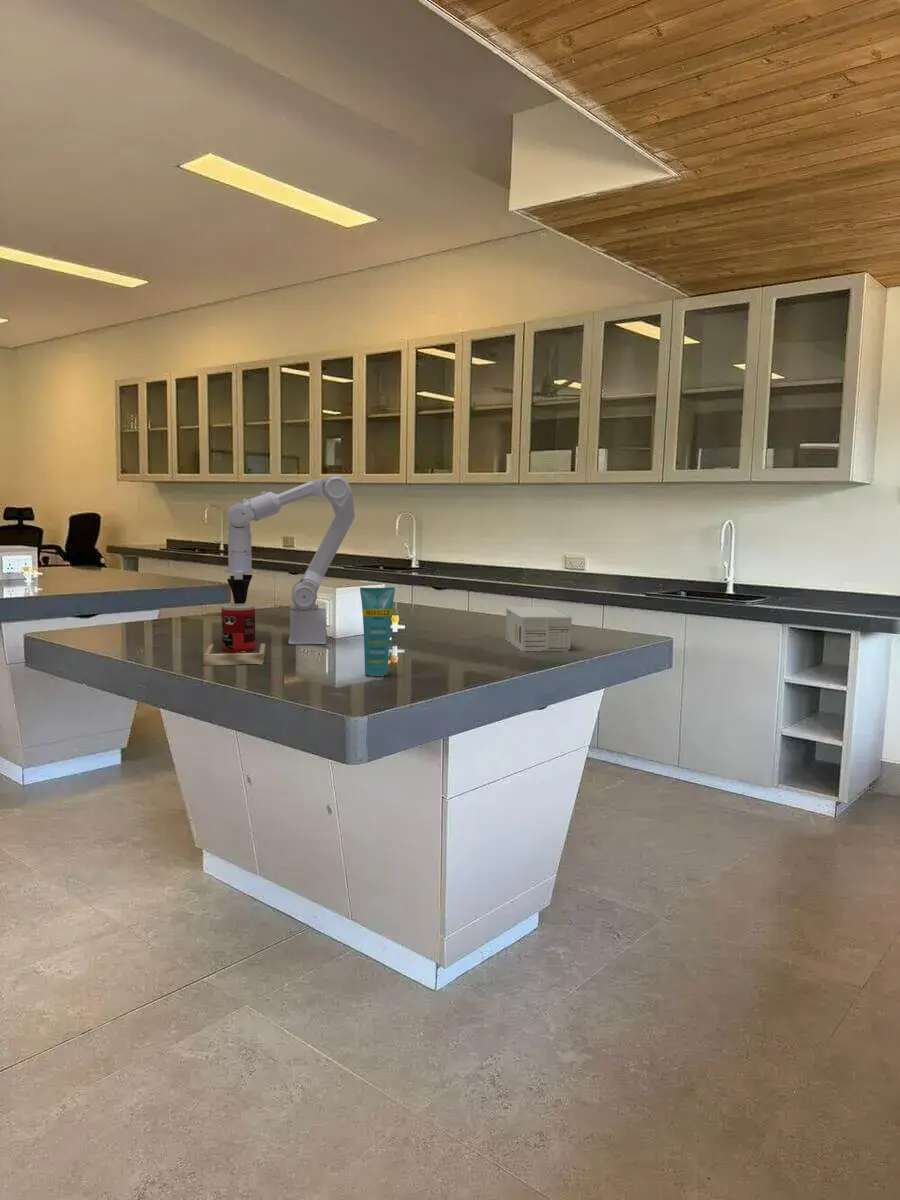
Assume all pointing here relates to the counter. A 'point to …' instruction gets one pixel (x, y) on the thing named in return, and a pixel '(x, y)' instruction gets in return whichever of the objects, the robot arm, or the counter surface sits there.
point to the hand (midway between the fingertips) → (240, 604)
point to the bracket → (233, 657)
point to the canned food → (238, 627)
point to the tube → (377, 628)
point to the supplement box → (538, 628)
